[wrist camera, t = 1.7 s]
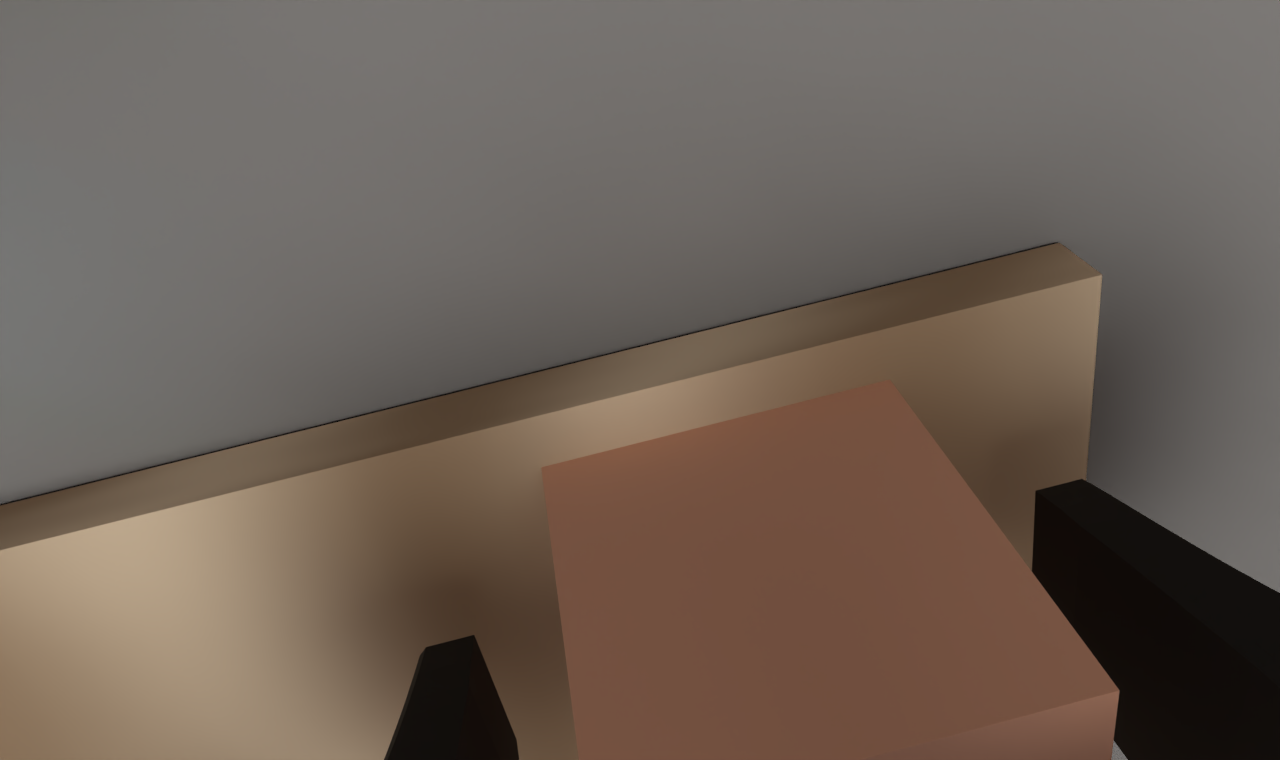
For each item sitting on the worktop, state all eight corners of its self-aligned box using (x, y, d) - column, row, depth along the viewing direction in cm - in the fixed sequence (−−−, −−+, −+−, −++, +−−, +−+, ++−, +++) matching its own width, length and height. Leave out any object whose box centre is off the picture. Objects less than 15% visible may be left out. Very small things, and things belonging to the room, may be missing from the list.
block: (613, 702, 14) (678, 1078, 10) (541, 467, 12) (587, 831, 8) (903, 625, 15) (1086, 964, 10) (889, 379, 12) (1119, 689, 8)
